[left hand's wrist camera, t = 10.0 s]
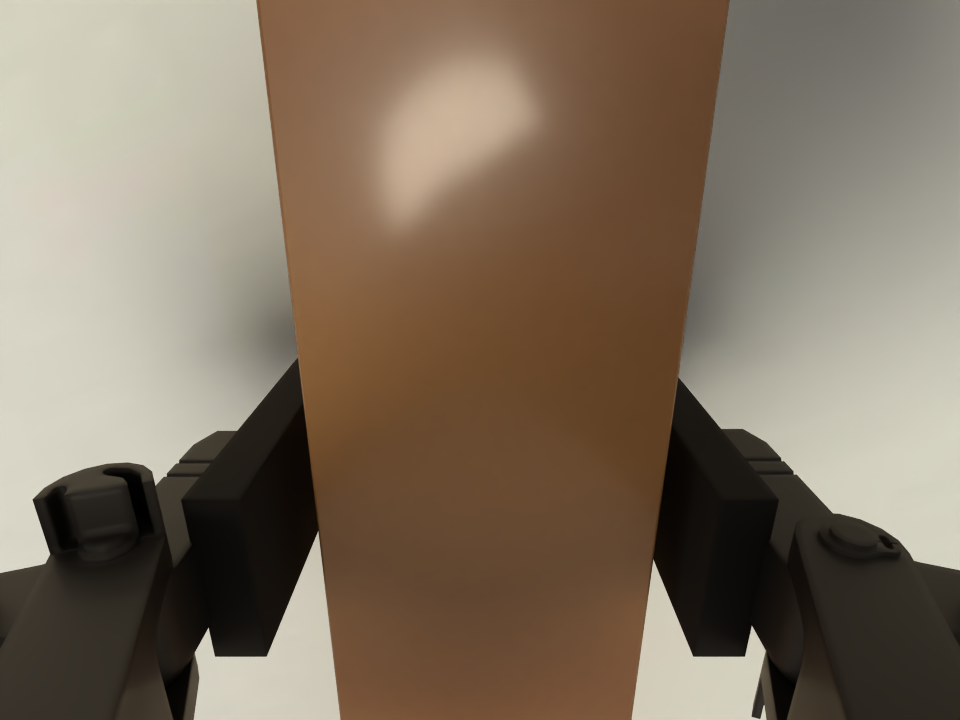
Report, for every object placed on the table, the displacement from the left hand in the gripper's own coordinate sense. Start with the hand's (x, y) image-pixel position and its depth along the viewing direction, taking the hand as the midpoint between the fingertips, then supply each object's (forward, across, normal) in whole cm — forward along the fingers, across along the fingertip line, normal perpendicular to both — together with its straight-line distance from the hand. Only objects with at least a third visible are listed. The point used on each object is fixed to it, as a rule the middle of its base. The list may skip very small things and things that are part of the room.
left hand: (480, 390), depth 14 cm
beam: (+2, 0, -22) cm, 23 cm away
